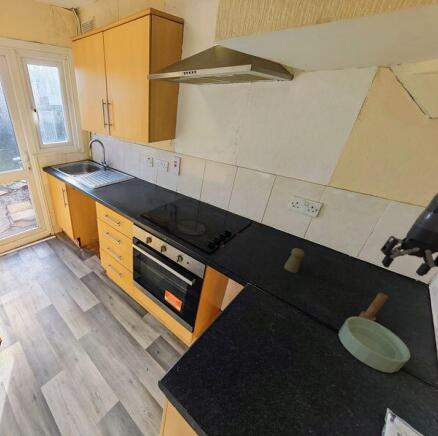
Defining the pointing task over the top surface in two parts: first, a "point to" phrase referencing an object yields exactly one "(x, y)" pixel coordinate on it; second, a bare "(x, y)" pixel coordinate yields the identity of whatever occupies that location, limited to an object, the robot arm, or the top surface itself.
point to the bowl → (374, 344)
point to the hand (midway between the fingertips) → (401, 270)
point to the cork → (294, 260)
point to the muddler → (374, 307)
